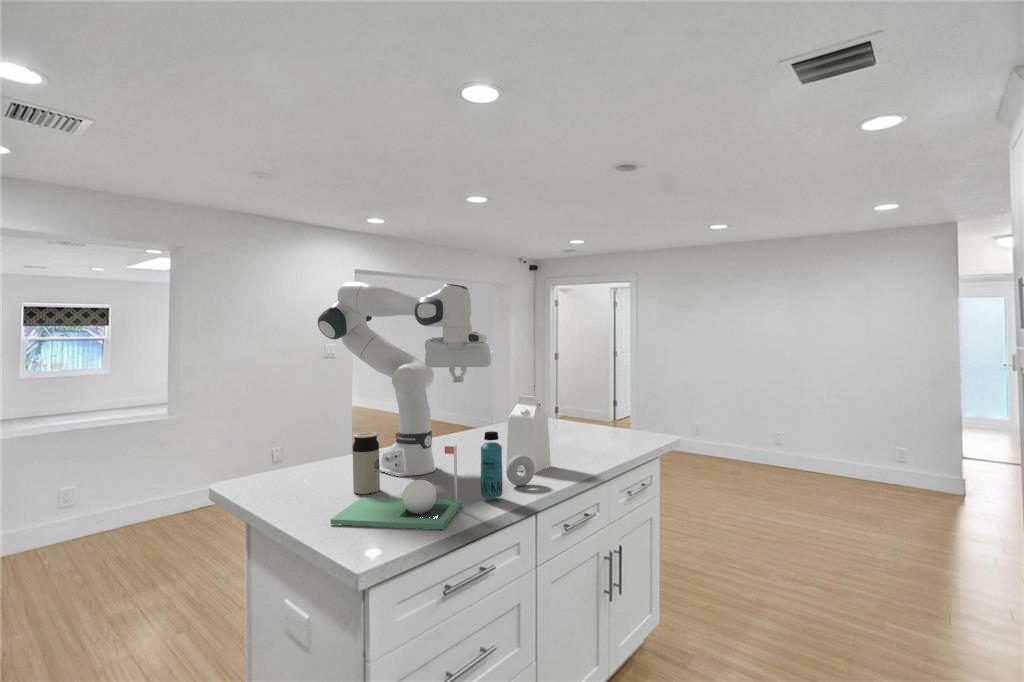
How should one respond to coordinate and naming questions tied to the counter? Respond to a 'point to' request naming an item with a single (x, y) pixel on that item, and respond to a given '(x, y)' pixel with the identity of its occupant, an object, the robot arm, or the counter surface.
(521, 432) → the milk
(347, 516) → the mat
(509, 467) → the donut
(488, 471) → the beverage bottle
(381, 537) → the counter surface
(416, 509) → the ball
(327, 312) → the robot arm
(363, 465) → the travel mug
